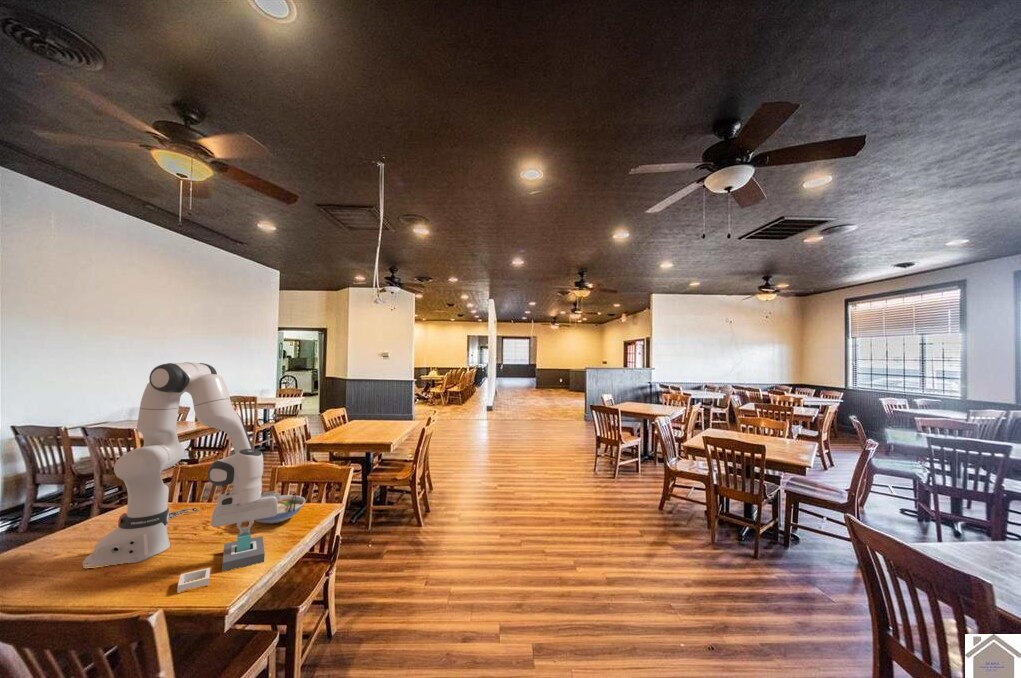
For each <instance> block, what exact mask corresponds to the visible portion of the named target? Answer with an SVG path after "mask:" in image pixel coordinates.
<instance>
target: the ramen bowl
mask: <svg viewBox="0 0 1021 678" xmlns="http://www.w3.org/2000/svg"><path fill="white" fill-rule="evenodd" d="M305 503H306V499H305V497H303V496H300V495H297V493H296V492H294V493H293V494H289V495H288V494H287V495H286V494H285V495H283V494H282V495H280V499H279V501H278V502H277V504H278V514H277V515H276V516H274V517H268V518H263V519H257V520H255V521H256V522H257V523H263V524H268V523H269V524H270V525H275V524H274V523H276V524H279V522H280V523H282V522H284V521H287V520H289V519H291V518H293V517H294V516H295V515H297V513H298V512H299V511H300V510H301V509H302V508H303V506H304V504H305Z"/></svg>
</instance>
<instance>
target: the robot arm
mask: <svg viewBox="0 0 1021 678" xmlns="http://www.w3.org/2000/svg"><path fill="white" fill-rule="evenodd" d="M148 380H149V382H148V383H147V384H146V386H145V389H144V392H143V394H142V397H141V401H140V405H139V411H138V416H137V417H138V418H137V425H136V429H137V431H138V432H139V433H141V436H142V439H143V446H141V447H138V448H135V449H134V448H133V449H132V450H130V451H128V452H126V453H125V454H123V455H121V456H120V457H119V458H118V459H117V460H116V461H115V463H114V466H113V473H114V474H115V476H116V477H117V478H118V479H120V480H122V481H123V483H124V484H125V486H126V487H125V488H126V491H127V507H126V508H127V510H126V512H123V513H121V515H120V516H119V518H118V522H117V527H116V528H115V529H113V530H112V531H110V532H109V533H108V534H107V535H105V536H104V537H102V538H101V539H100V540H99V541H98V542H97V544H96V545H95V547H94V549H93V551H92V553H90V554H89V555H88V556H86V557H85V559H84V560H83V561H82V564H81V566H82V565H83V567H86V568H87V567H96V566H105V565H115V564H121V565H124V564H123V563H128V564H133V563H134V564H135V563H140V562H143V561H146V560H147V559H148V558H150V557H153V556H155V555H159V554H160V553H162V552H164V551H166V550H167V549H168V548H170V546H171V543H170V539H169V538H170V537H169V534H168V523H169V520H170V519H169V513H170V511H169V510H170V508H169V494H170V493H169V492H170V488H169V486H168V485H166V484H165V483H164V482H163V477H162V472H163V471H165V470H168V469H169V468H172V467H174V466H175V465H176V464H178V463H179V462H180V461H181V460H182V459H183V458H184V455H185V448H184V446H183V444H182V443H181V442H180V441H179V437H178V430H177V425H178V417H179V410H180V404H181V403H180V401H181V397H182V395H183V394H184V393H188V394H189V395H190V396H191V399H192V405H193V409H194V414H195V417H196V419H197V421H198V422H199V423H200V424H202V425H203V426H204V427H209V428H213V429H216V430H217V429H218V430H220V431H222V432H225V434H227V436H228V438H229V440H230V444H231V445H232V448H233V452H234V454H232V455H229V456H227V457H223V458H220V459H217V460H216V461H213V462H212V463H211V464H210V466H209V467H208V470H207V479H208V481H209V482H210V484H212V485H213V486H215V487H222V486H228V485H232V486H233V487H232V490H229V491H227V492H224V493H222V494H220V495H219V496H217V497H218V498H217V499H216V504H215V506H214V507H213V511H212V515H211V521H210V525H211V526H212V528H218V527H222V526H228V525H233V524H236V527H237V528H238V530H239V534H246V533H249V532H250V531H251V527H252V526H253V525H254V521H256V520H257V519H263V518H268V517H274V516H276V515H277V514H278V504H277V502H278V501H279V499H280V496H281V494H280V493H279V492H278V491H276V490H270V491H262V490H263V482H262V481H263V480H262V477H263V474H264V455H263V453H262V451H261V450H260V449H255V448H254V446H253V444H252V441H251V439H250V436H249V433H248V430H247V427H246V425H245V422H244V421H243V420H244V419H242V417H241V416H240V415H239V414H238V412H236V410H235V408H234V407H233V404H232V400H231V397H230V394H229V390H228V386H227V385H226V383H225V381H224V378H223V377H222V376H221V375H219V374H218V373H217V370H216V368H215V367H213V366H212V365H210V364H208V363H202V362H199V363H198V362H189V361H187V362H176V363H173V362H168V363H162V364H159V365H157V366H155V367H154V368H152V370H151V371H150V373H149V379H148ZM245 522H248V523H249V524H248V526H246V527H245V526H244V527H242V523H245ZM85 564H87V565H85ZM115 566H116V565H115Z"/></svg>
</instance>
